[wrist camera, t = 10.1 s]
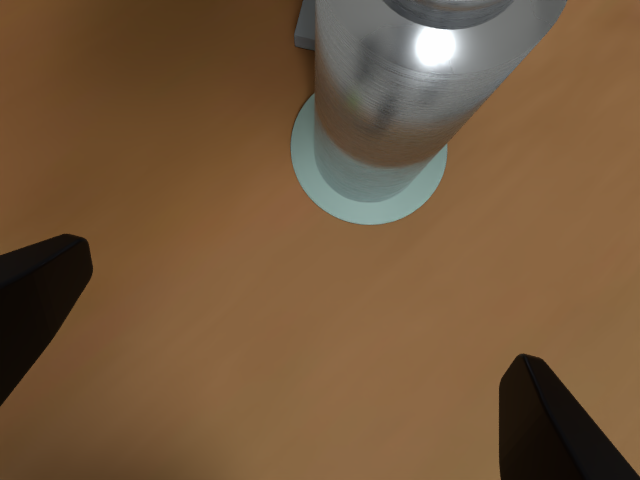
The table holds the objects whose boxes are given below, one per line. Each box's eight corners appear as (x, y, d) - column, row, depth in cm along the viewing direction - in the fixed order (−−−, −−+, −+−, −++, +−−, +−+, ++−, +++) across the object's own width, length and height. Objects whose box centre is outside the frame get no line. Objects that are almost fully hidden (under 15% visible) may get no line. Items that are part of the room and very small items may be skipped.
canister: (372, 225, 22) (480, 106, 8) (291, 153, 22) (255, -86, 8) (443, 146, 22) (665, -98, 8) (363, 77, 22) (445, -269, 9)
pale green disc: (429, 241, 22) (430, 240, 22) (274, 204, 22) (273, 203, 22) (459, 93, 23) (460, 92, 22) (311, 59, 23) (311, 57, 23)
